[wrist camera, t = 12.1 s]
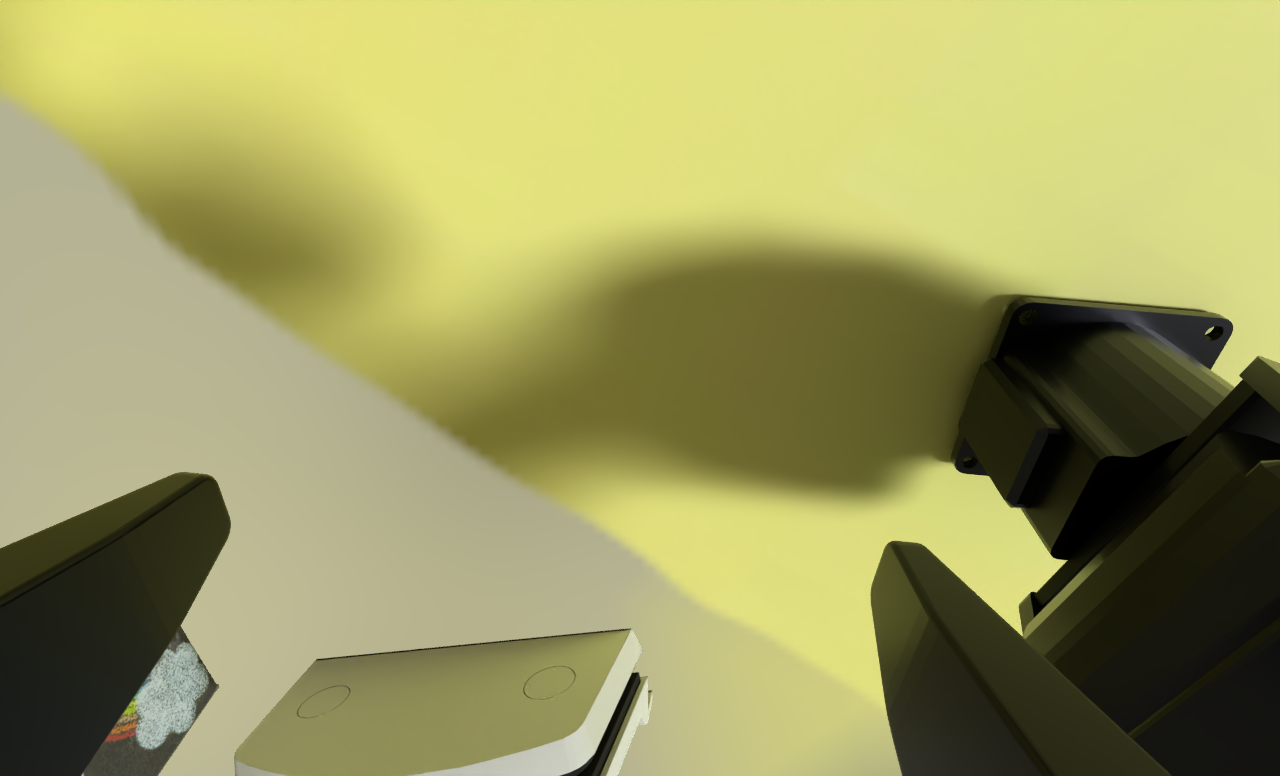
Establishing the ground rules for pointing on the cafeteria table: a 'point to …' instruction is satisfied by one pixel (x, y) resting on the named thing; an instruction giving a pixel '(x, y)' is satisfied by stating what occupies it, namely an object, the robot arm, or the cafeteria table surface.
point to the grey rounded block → (460, 711)
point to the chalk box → (157, 715)
